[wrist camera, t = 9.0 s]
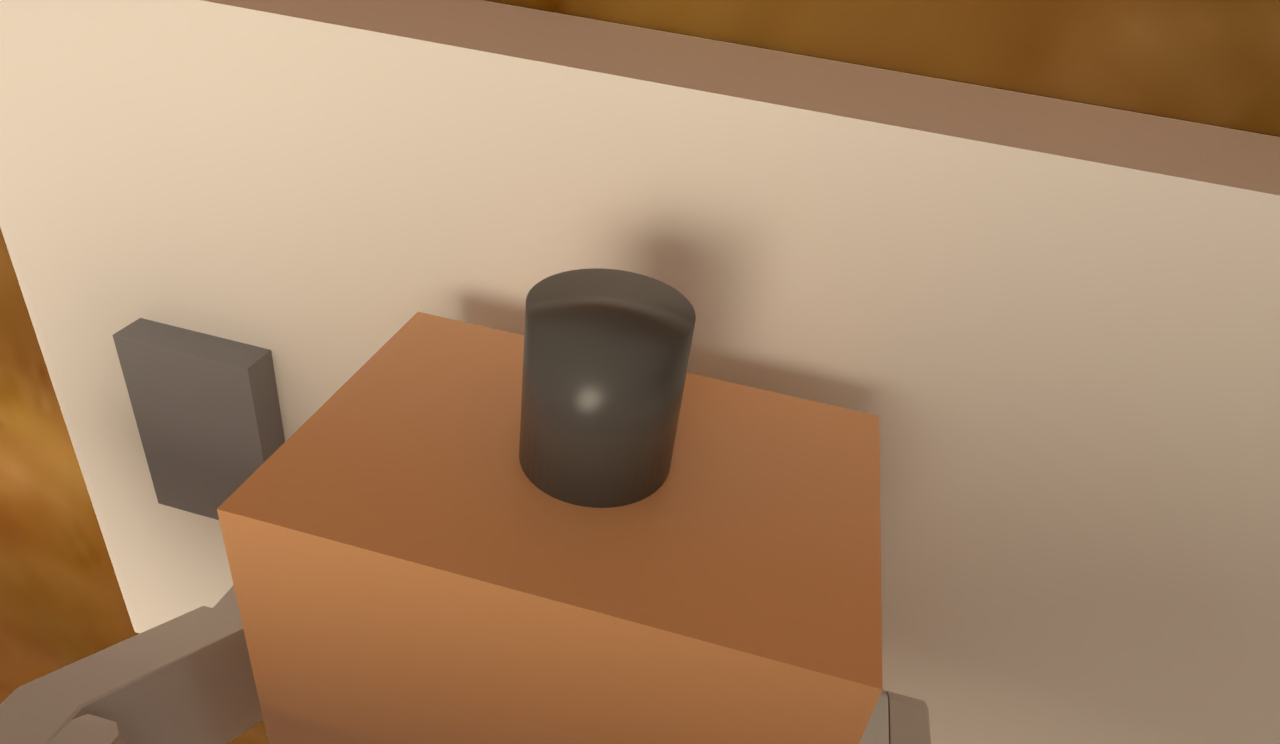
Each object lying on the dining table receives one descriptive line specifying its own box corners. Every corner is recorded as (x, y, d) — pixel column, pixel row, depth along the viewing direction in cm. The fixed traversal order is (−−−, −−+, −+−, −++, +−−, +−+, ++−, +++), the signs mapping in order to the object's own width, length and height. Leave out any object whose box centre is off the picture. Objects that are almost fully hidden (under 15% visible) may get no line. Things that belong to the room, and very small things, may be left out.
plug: (914, 204, 11) (953, 525, 6) (769, 671, 16) (719, 1065, 11) (492, 124, 12) (178, 339, 7) (484, 593, 17) (308, 924, 12)
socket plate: (1587, 190, 11) (1865, 319, 8) (1116, 796, 18) (1162, 979, 15) (84, -69, 14) (-138, -50, 11) (221, 542, 21) (114, 652, 18)
